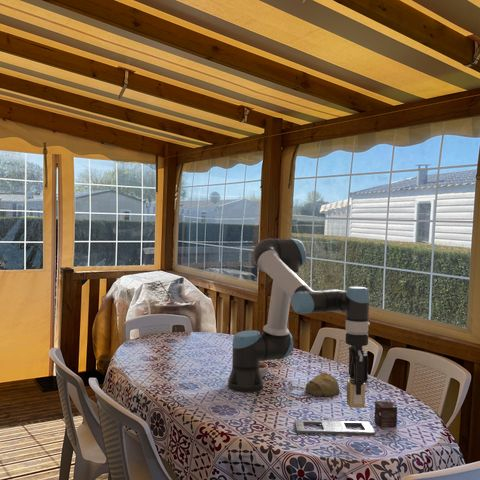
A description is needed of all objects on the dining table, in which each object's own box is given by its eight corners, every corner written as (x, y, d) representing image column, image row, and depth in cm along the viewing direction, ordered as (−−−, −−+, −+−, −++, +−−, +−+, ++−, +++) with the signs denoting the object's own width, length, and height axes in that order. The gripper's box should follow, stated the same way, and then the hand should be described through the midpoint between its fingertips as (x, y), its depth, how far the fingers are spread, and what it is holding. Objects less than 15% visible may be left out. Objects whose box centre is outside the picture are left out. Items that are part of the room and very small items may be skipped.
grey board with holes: (297, 433, 167) (297, 430, 167) (294, 422, 176) (294, 419, 176) (375, 435, 167) (375, 432, 167) (368, 424, 176) (368, 421, 176)
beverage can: (367, 383, 223) (368, 356, 223) (352, 381, 225) (353, 355, 224) (367, 378, 230) (367, 352, 229) (352, 377, 231) (353, 351, 231)
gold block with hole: (349, 407, 168) (350, 383, 168) (346, 402, 173) (347, 379, 173) (364, 407, 168) (365, 383, 168) (361, 402, 173) (361, 379, 173)
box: (373, 421, 179) (374, 401, 179) (390, 421, 179) (390, 400, 179) (380, 428, 173) (380, 407, 173) (397, 428, 173) (397, 407, 173)
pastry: (341, 390, 213) (341, 371, 213) (338, 399, 201) (338, 379, 201) (308, 386, 217) (308, 368, 217) (303, 395, 205) (303, 376, 205)
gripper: (375, 338, 161) (373, 410, 162) (361, 327, 179) (360, 392, 180) (351, 338, 161) (350, 409, 162) (340, 327, 179) (339, 392, 180)
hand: (355, 400), depth 171 cm, fingers closed on gold block with hole, 5 cm apart
